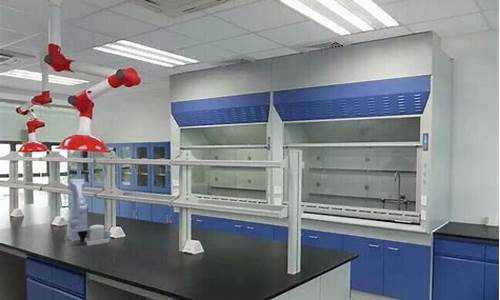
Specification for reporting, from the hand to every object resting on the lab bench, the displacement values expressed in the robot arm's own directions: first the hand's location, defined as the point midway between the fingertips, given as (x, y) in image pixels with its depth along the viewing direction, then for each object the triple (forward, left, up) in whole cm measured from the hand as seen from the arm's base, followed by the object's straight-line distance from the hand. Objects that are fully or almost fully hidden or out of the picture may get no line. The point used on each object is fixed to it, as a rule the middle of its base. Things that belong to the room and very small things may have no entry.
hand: (82, 242), depth 263 cm
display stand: (0, +9, -1) cm, 9 cm away
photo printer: (0, +10, -2) cm, 10 cm away
